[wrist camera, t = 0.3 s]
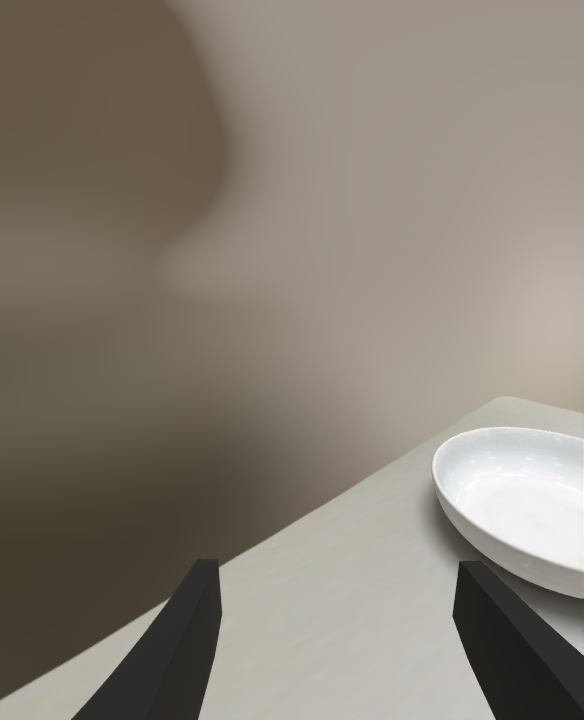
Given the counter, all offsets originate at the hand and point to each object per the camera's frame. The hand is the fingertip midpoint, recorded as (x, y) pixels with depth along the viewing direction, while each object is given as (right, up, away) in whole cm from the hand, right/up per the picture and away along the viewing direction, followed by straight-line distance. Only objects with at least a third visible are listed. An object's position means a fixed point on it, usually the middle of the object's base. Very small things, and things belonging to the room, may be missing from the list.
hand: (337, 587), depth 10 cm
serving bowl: (+25, -12, +24) cm, 37 cm away
